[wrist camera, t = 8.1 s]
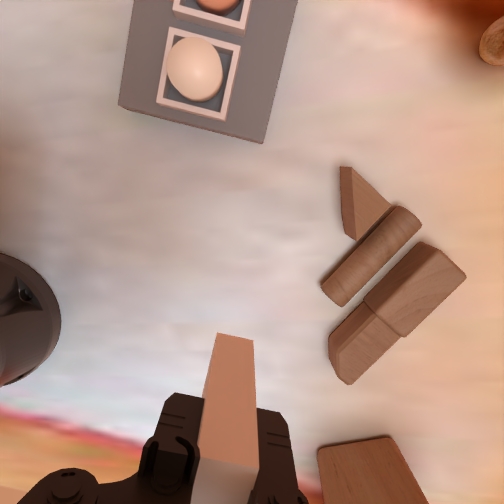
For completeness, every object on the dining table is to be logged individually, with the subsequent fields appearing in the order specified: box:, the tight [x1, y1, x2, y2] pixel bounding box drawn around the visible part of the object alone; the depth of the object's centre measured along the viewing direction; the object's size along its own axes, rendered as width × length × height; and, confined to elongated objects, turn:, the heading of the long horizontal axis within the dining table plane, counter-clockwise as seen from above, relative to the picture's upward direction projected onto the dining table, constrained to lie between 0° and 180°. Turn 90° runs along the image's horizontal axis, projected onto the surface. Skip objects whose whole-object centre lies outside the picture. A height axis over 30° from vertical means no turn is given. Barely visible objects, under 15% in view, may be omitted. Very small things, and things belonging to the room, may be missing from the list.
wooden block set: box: [321, 167, 466, 385], centre depth 40 cm, size 17×6×18 cm
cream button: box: [166, 37, 223, 102], centre depth 31 cm, size 4×4×3 cm
